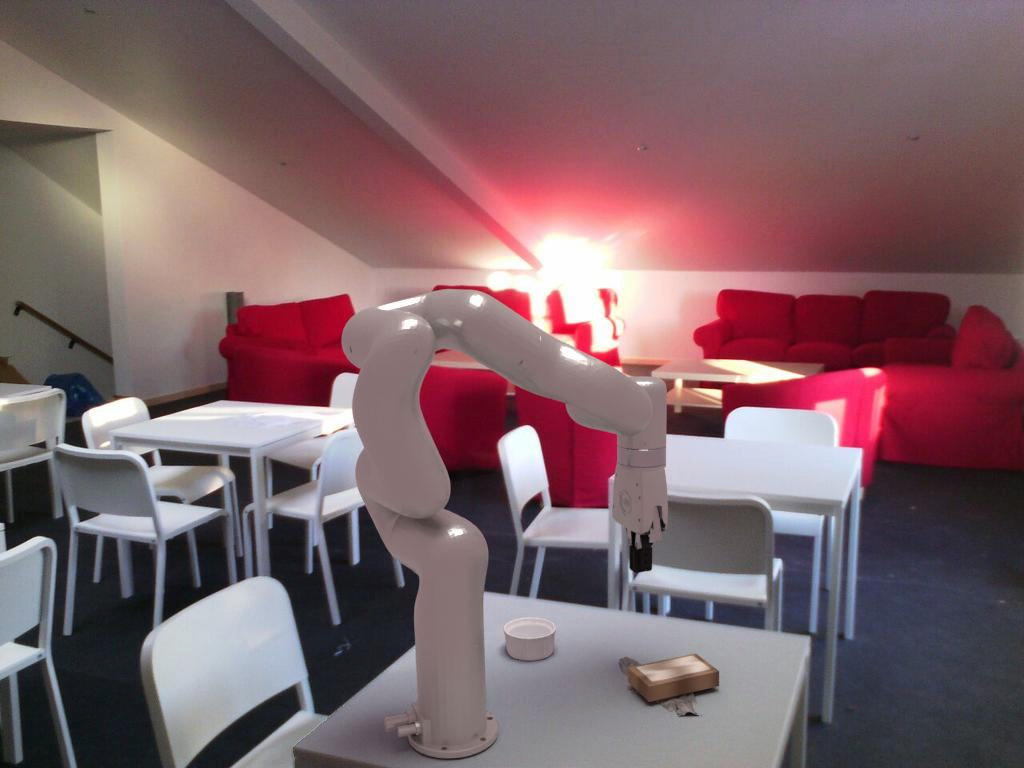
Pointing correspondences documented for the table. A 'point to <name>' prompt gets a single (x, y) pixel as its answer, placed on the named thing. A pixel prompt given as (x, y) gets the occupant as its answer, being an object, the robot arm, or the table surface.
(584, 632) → the table surface
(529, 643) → the ramekin
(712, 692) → the table surface
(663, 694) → the brown wooden block
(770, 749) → the table surface
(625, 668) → the stone slab
